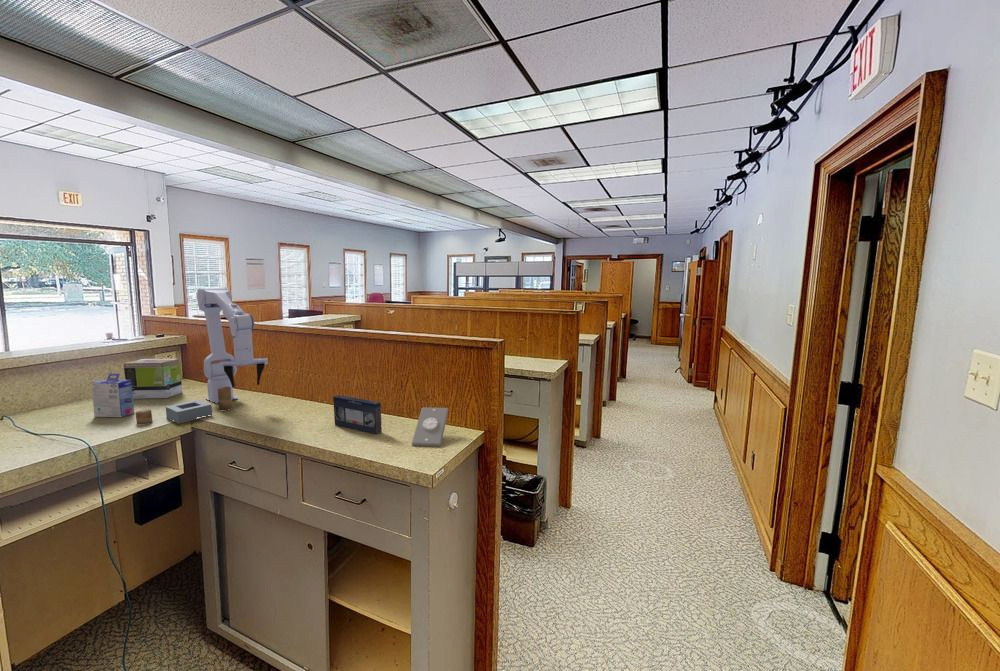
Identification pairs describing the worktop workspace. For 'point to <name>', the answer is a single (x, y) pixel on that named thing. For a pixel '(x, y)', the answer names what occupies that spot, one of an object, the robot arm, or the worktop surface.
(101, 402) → the ink cartridge box
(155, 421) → the worktop surface
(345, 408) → the vhs cassette tape
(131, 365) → the tea box
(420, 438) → the light switch
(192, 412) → the block
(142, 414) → the brown wooden cube
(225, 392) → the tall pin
